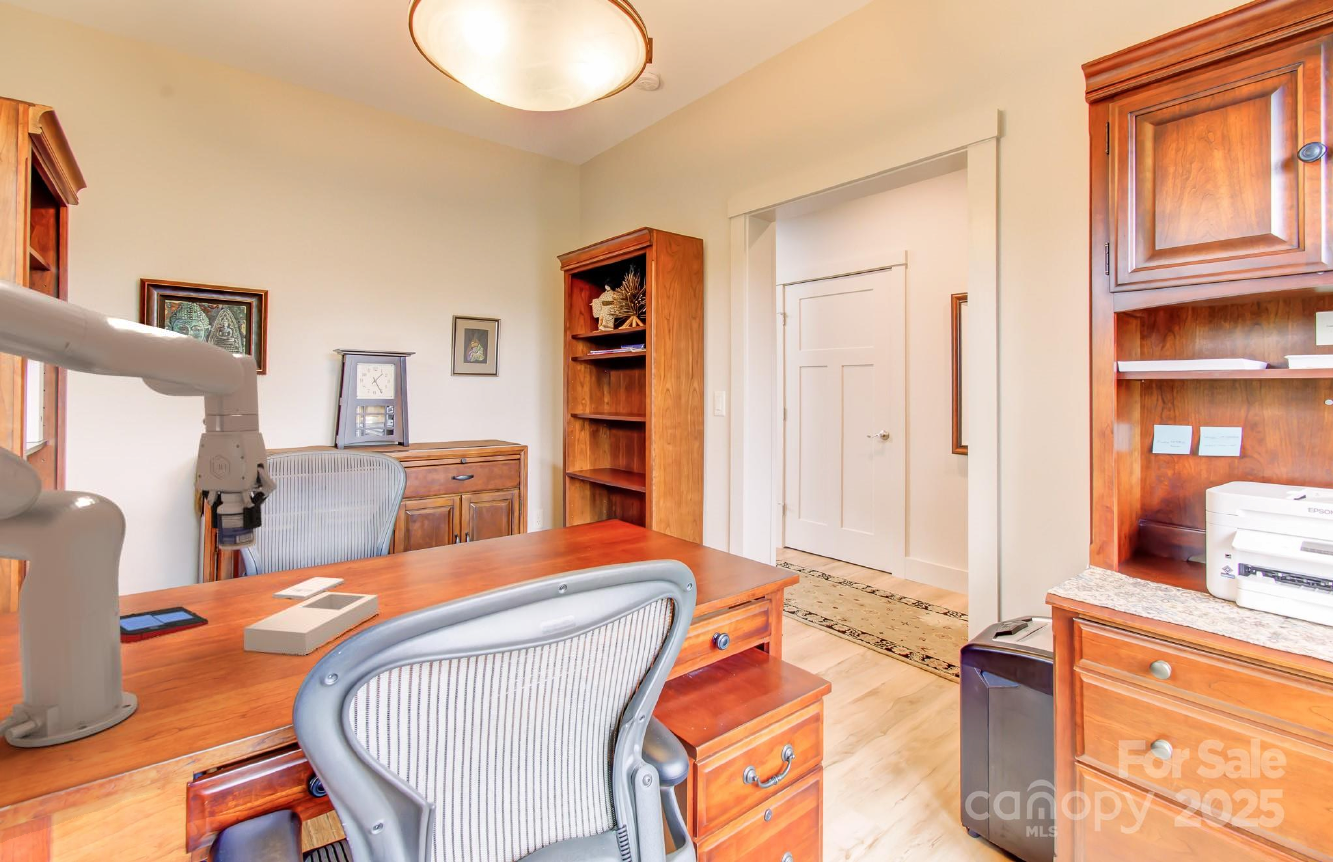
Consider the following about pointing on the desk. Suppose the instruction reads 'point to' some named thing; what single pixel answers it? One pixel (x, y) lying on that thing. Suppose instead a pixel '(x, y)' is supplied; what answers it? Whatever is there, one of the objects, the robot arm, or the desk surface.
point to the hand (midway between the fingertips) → (236, 526)
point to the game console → (157, 623)
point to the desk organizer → (309, 623)
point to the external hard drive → (309, 588)
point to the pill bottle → (233, 523)
